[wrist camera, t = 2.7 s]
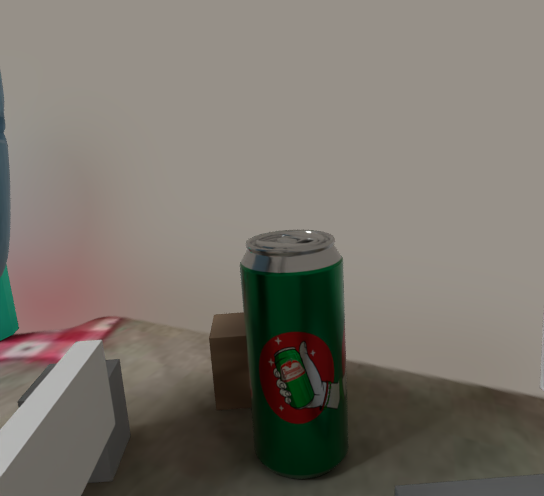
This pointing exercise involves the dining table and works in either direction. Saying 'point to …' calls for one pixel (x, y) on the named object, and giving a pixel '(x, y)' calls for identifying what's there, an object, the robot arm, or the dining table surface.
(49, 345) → the dining table surface
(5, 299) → the candle
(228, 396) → the walnut block
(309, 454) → the soda can
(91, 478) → the slate grey block
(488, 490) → the grey square plate
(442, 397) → the dining table surface
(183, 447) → the dining table surface
